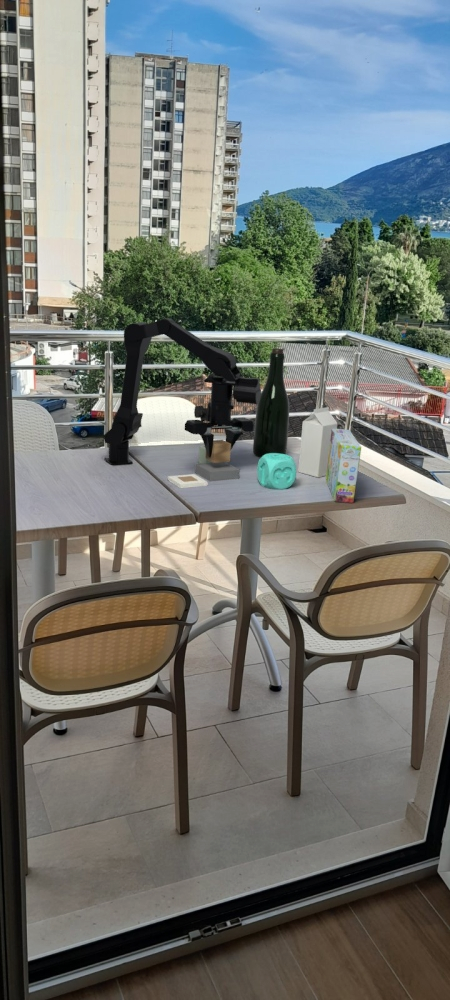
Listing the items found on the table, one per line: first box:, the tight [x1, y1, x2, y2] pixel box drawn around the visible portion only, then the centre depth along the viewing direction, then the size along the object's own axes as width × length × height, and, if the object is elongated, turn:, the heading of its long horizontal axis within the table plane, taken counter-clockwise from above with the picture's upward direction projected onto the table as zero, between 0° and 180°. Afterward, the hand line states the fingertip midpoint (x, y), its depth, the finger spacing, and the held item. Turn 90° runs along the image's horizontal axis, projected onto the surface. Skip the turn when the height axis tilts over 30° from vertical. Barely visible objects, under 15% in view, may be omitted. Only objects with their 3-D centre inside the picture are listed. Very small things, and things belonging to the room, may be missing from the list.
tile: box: [167, 473, 209, 489], centre depth 199 cm, size 8×8×1 cm
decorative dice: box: [256, 453, 297, 490], centre depth 201 cm, size 8×8×8 cm
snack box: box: [325, 428, 362, 504], centre depth 198 cm, size 21×6×15 cm, turn 179°
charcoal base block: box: [194, 462, 241, 482], centre depth 208 cm, size 9×9×3 cm
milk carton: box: [297, 406, 338, 478], centre depth 214 cm, size 7×7×19 cm
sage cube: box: [198, 445, 213, 464], centre depth 219 cm, size 5×5×5 cm
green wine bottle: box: [252, 347, 290, 458], centre depth 229 cm, size 10×10×33 cm
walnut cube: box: [206, 439, 232, 463], centre depth 206 cm, size 5×5×5 cm
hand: (217, 456), depth 206 cm, fingers closed on walnut cube, 5 cm apart
